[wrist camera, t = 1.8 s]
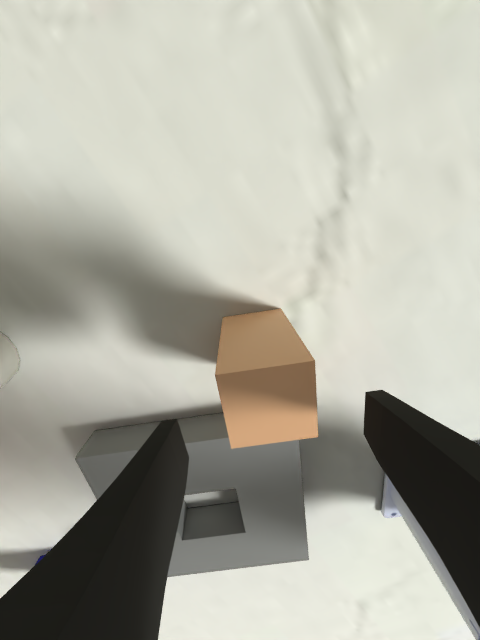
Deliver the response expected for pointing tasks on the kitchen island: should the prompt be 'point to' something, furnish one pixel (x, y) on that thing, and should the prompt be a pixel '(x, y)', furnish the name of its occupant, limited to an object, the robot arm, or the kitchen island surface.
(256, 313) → the plug
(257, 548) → the socket plate
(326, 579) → the kitchen island surface
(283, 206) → the kitchen island surface
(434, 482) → the robot arm
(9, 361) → the bottle
